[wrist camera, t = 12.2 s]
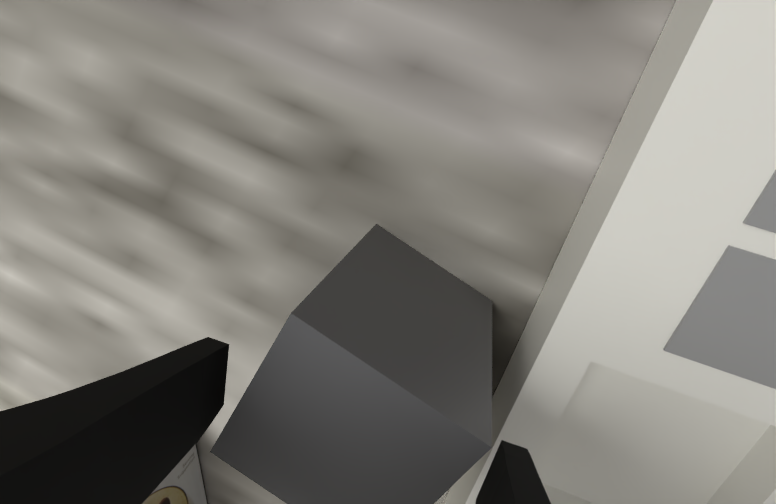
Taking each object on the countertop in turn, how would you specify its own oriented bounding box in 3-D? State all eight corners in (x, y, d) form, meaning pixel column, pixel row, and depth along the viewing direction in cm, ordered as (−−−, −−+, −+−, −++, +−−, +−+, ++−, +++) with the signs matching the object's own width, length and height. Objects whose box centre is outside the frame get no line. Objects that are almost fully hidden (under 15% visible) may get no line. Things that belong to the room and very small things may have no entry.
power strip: (1153, -15, 9) (1497, -77, 6) (652, 582, 17) (688, 686, 14) (725, -107, 10) (828, -198, 7) (446, 497, 19) (437, 577, 15)
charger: (492, 300, 15) (492, 447, 9) (417, 389, 17) (373, 561, 11) (376, 223, 15) (291, 313, 9) (315, 320, 17) (210, 452, 11)
